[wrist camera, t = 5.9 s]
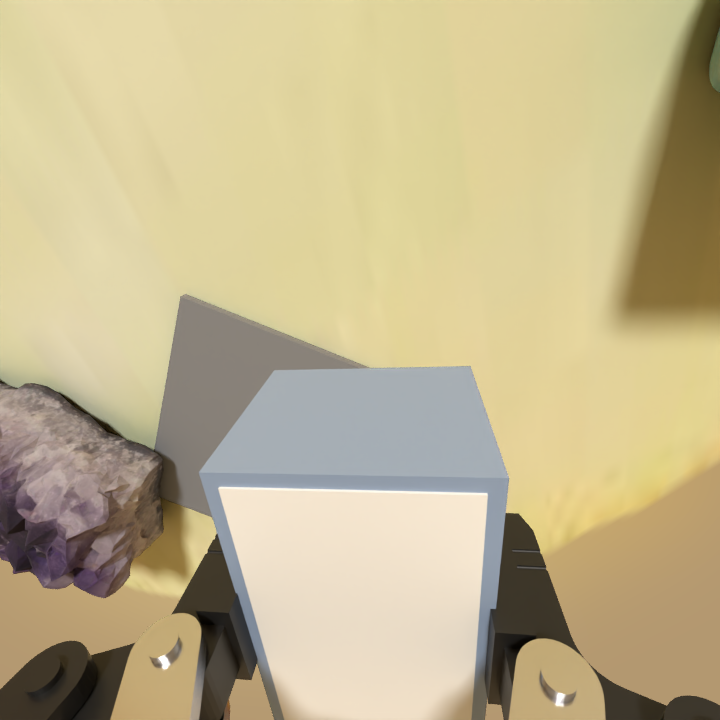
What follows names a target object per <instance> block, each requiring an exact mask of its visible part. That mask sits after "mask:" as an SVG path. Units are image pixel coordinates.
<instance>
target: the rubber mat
mask: <svg viewBox="0 0 720 720" xmlns="http://www.w3.org/2000/svg"><path fill="white" fill-rule="evenodd" d="M360 368H369V367H366V366H364V365H361V364H359V363H356V362H354V361H351V360H349V359H346V358H344V357H341V356H339V355H336V354H334V353H331V352H329V351H326V350H324V349H321V348H319V347H316V346H314V345H311V344H309V343H306V342H304V341H301V340H299V339H296V338H294V337H291V336H289V335H286V334H284V333H281V332H279V331H276V330H274V329H271V328H269V327H266V326H264V325H261V324H259V323H256V322H254V321H251V320H249V319H246V318H244V317H241V316H239V315H236V314H234V313H231V312H229V311H226V310H224V309H221V308H219V307H216V306H214V305H211V304H209V303H206V302H204V301H201V300H199V299H196V298H194V297H191V296H189V295H186V294H185V295H183V296H181V297H180V303H179V309H178V315H177V320H176V326H175V332H174V338H173V344H172V350H171V356H170V361H169V367H168V373H167V379H166V385H165V391H164V397H163V403H162V408H161V414H160V420H159V426H158V432H157V438H156V444H155V449H154V452H155V453H157V454H158V455H160V456H161V458H162V459H163V469H164V470H163V475H162V479H161V482H160V485H161V487H160V490H159V493H158V495H159V497H160V498H163V499H166V500H168V501H171V502H173V503H176V504H179V505H181V506H184V507H187V508H189V509H192V510H194V511H197V512H200V513H202V514H205V515H208V516H210V517H212V514H211V511H210V508H209V504H208V501H207V498H206V494H205V491H204V488H203V485H202V481H201V478H200V475H199V471H200V470H201V469H202V467H203V466H204V465H205V463H206V462H207V461H208V459H209V458H210V457H211V455H212V454H213V452H214V451H215V450H216V448H217V447H218V446H219V444H220V443H221V442H222V440H223V439H224V438H225V436H226V435H227V434H228V432H229V431H230V430H231V428H232V427H233V425H234V424H235V423H236V421H237V420H238V419H239V417H240V416H241V415H242V413H243V412H244V411H245V409H246V408H247V407H248V405H249V404H250V402H251V401H252V400H253V398H254V397H255V396H256V394H257V393H258V392H259V390H260V389H261V388H262V386H263V385H264V384H265V382H266V381H267V380H268V378H269V377H270V375H271V374H272V373H273V371H274V370H310V369H360Z"/></svg>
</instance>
